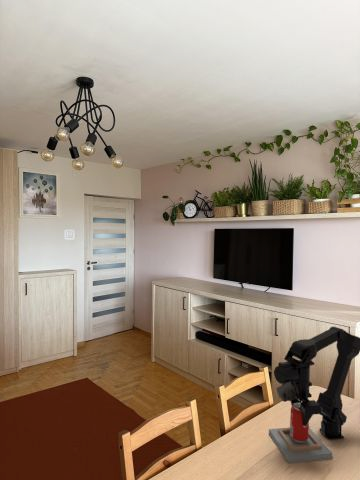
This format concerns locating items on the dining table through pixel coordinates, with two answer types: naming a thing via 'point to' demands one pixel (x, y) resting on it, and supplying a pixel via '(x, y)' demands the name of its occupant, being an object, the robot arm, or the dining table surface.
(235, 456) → the dining table surface
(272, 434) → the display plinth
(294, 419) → the beverage can
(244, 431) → the dining table surface
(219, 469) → the dining table surface
